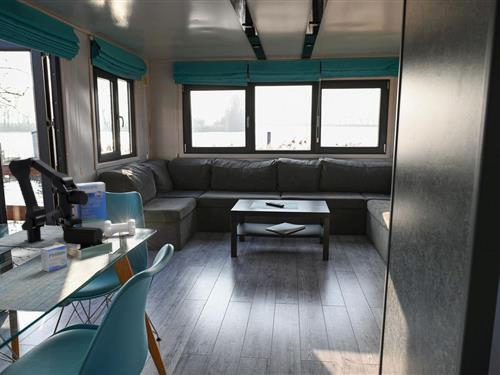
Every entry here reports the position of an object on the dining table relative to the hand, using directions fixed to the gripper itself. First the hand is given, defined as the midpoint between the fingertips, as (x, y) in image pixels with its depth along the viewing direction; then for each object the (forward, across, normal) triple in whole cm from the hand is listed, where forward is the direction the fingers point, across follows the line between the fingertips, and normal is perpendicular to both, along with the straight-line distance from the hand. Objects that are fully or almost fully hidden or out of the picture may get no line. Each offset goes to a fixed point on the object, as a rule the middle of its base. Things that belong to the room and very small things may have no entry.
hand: (66, 236), depth 179 cm
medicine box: (+4, +26, -19) cm, 32 cm away
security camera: (+4, +15, +1) cm, 15 cm away
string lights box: (+4, -10, +19) cm, 22 cm away
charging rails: (+4, +13, 0) cm, 13 cm away
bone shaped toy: (+4, +5, +25) cm, 26 cm away
